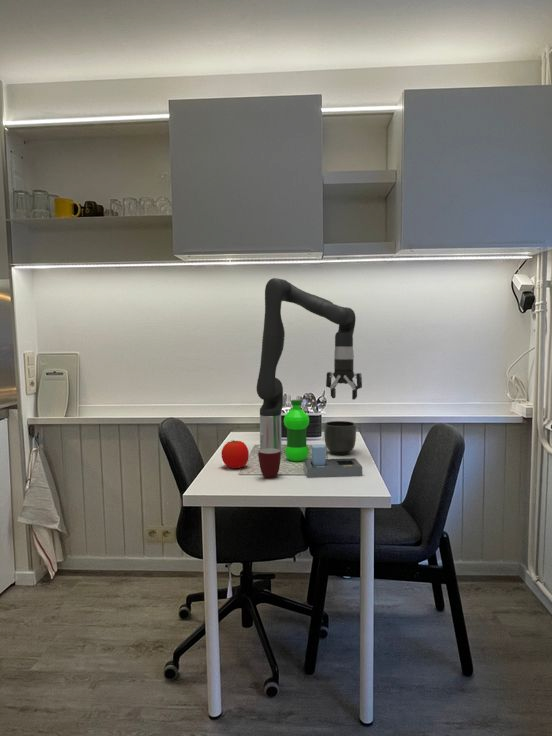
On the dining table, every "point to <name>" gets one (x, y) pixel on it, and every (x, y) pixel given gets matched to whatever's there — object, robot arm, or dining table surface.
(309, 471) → the panel
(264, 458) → the mug
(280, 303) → the robot arm
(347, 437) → the planter
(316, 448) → the plug
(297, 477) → the dining table surface
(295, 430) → the plastic bottle
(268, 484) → the dining table surface
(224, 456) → the tomato
